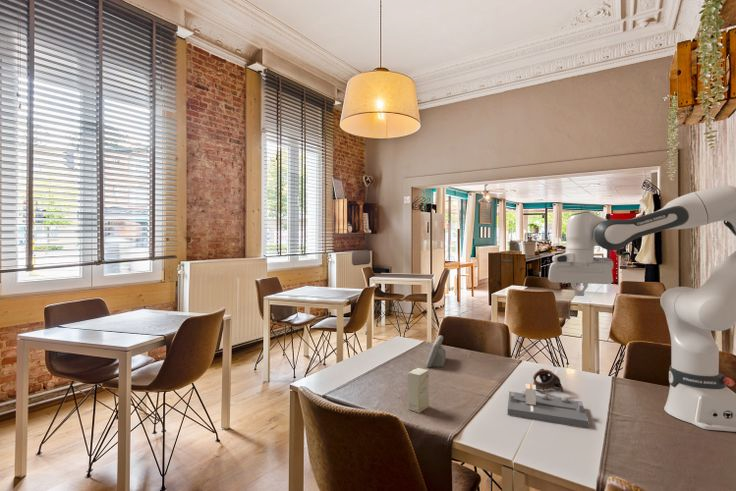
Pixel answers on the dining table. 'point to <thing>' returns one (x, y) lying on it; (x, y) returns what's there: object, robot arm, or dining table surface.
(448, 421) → the dining table surface
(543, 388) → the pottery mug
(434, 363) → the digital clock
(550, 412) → the console
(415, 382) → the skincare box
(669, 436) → the dining table surface
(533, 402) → the fader tab
